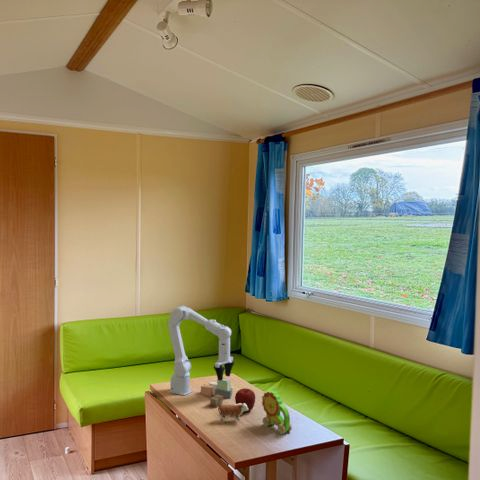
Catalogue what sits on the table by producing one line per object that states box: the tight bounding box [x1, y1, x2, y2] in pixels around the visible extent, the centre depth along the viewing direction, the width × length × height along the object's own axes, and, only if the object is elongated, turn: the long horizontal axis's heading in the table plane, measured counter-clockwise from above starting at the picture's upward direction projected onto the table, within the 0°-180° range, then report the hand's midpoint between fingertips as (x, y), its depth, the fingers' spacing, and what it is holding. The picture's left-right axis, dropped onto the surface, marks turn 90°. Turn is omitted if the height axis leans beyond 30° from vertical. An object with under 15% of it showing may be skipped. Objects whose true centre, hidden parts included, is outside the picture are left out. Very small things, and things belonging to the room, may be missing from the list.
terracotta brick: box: [200, 384, 215, 397], centre depth 253 cm, size 6×3×4 cm, turn 61°
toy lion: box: [261, 390, 293, 435], centre depth 212 cm, size 16×5×15 cm, turn 37°
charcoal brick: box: [214, 387, 233, 400], centre depth 249 cm, size 8×5×4 cm, turn 81°
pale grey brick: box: [208, 381, 217, 393], centre depth 257 cm, size 6×3×4 cm, turn 60°
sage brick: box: [216, 377, 232, 391], centre depth 249 cm, size 6×3×5 cm, turn 60°
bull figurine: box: [217, 403, 249, 423], centre depth 219 cm, size 4×13×8 cm, turn 89°
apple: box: [234, 387, 256, 413], centre depth 231 cm, size 10×10×10 cm
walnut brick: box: [209, 394, 224, 409], centre depth 237 cm, size 6×3×4 cm, turn 152°
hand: (223, 378), depth 249 cm, fingers open, 7 cm apart
